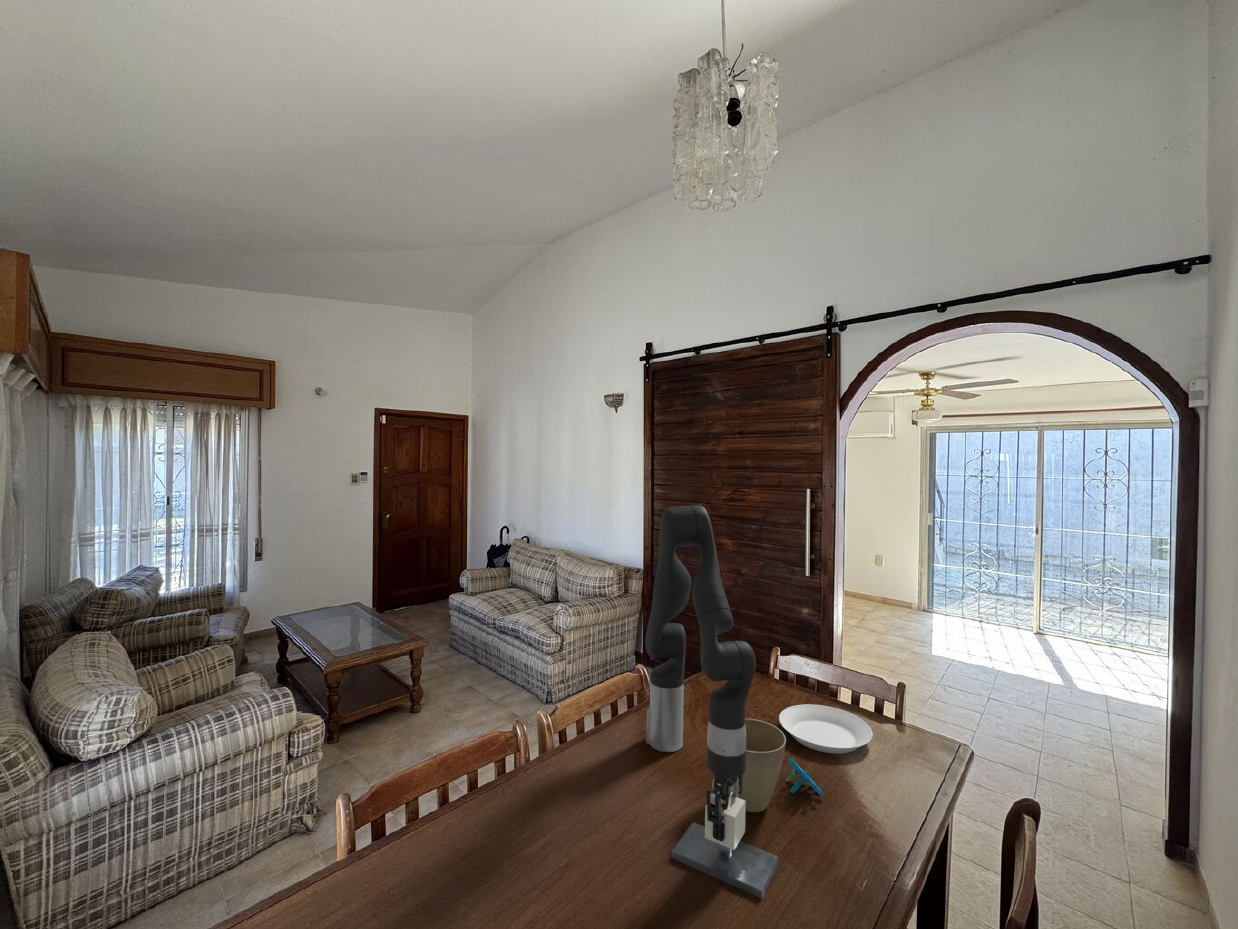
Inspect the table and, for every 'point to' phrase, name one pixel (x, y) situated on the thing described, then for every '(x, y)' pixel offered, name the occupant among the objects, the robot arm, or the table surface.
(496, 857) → the table surface
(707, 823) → the white and orange block
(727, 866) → the panel
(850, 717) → the bowl
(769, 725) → the plant pot
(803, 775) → the gear
